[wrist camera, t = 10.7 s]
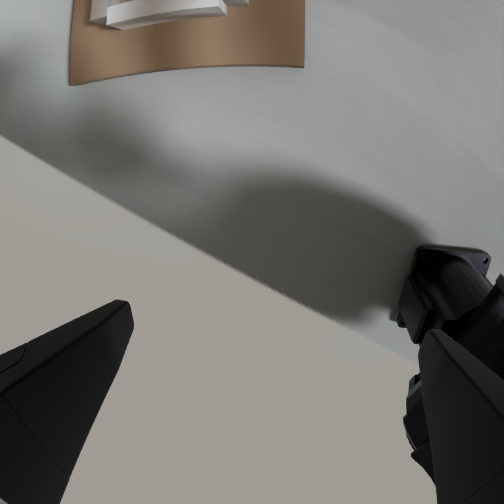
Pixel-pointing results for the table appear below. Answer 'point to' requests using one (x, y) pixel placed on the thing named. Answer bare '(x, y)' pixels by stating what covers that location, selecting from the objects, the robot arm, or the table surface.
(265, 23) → the wooden board with frame
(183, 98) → the table surface
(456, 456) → the robot arm
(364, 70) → the table surface
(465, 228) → the table surface
